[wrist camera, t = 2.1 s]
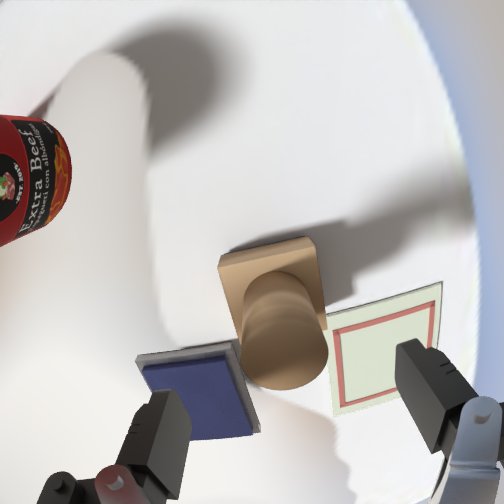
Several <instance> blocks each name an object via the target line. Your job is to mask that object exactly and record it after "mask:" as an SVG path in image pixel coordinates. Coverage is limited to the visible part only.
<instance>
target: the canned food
mask: <svg viewBox="0 0 504 504" xmlns="http://www.w3.org/2000/svg"><path fill="white" fill-rule="evenodd" d="M71 179H72V165H71V157H70V153H69V150H68V147H67V145H66V142H65V140H64V138H63V137H62V136H61V134H60V133H59V132H58V130H56V129H55V128H54V127H53V126H52V125H50V124H49V123H48V122H46V121H44V120H42V119H39V118H33V117H23V116H11V115H0V247H1V246H3V245H5V244H7V243H9V242H11V241H14V240H16V239H18V238H20V237H22V236H24V235H27V234H29V233H31V232H33V231H35V230H38V229H40V228H42V227H44V226H46V225H47V224H48V223H49V222H51V221H52V220H53V218H54V217H55V216H56V215H57V214H58V213H59V211H60V210H61V209H62V207H63V205H64V203H65V202H66V199H67V197H68V194H69V191H70V185H71Z"/></svg>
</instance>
